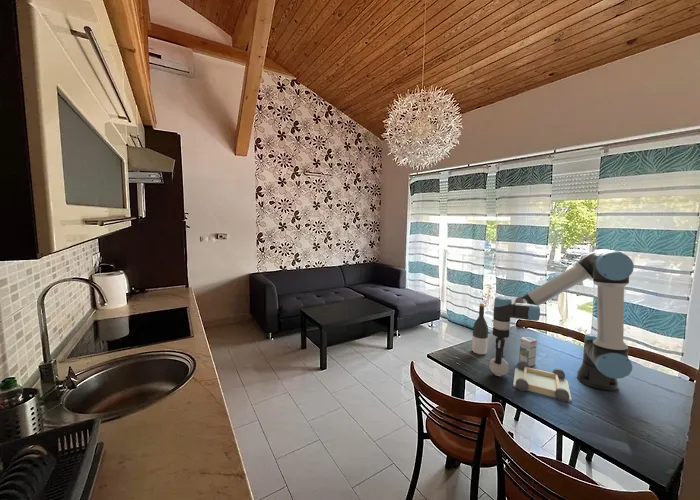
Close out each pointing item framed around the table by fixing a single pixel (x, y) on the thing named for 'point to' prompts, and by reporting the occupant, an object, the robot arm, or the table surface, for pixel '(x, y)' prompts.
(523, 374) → the chassis
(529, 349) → the syrup box
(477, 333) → the wine bottle
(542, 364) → the table surface
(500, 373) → the die
